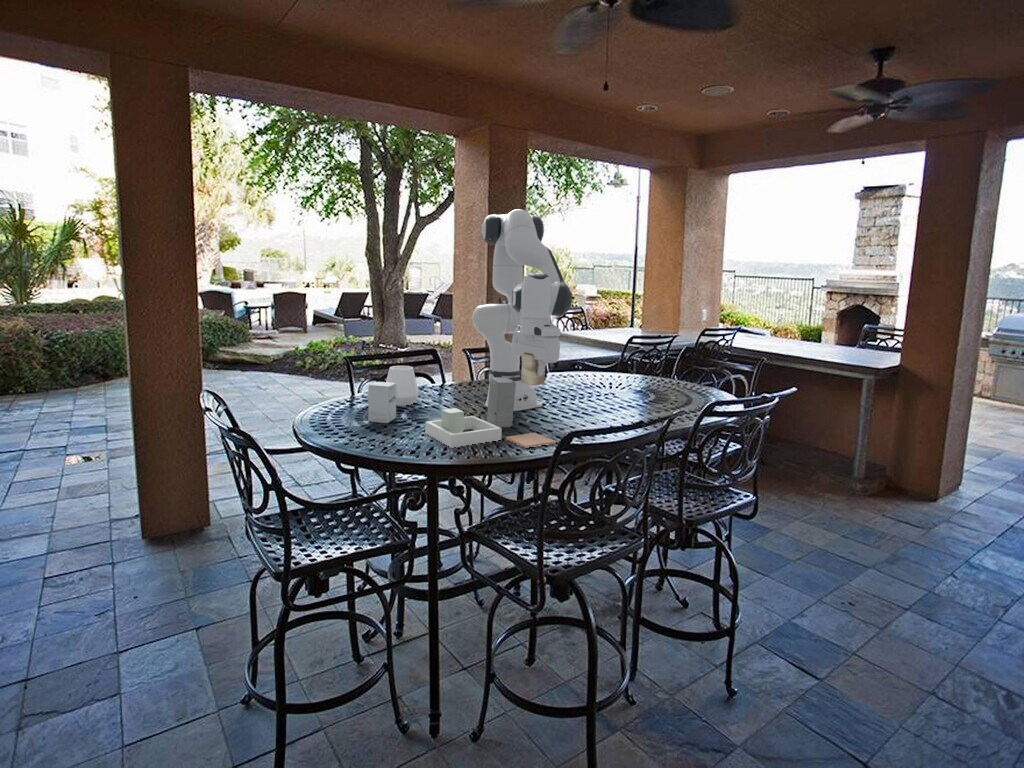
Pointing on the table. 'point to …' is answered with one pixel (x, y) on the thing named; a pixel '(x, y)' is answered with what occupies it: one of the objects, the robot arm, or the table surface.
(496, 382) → the skincare box
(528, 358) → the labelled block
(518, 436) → the tile
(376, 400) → the supplement box
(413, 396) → the cup
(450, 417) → the plain block
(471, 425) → the bin
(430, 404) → the table surface
